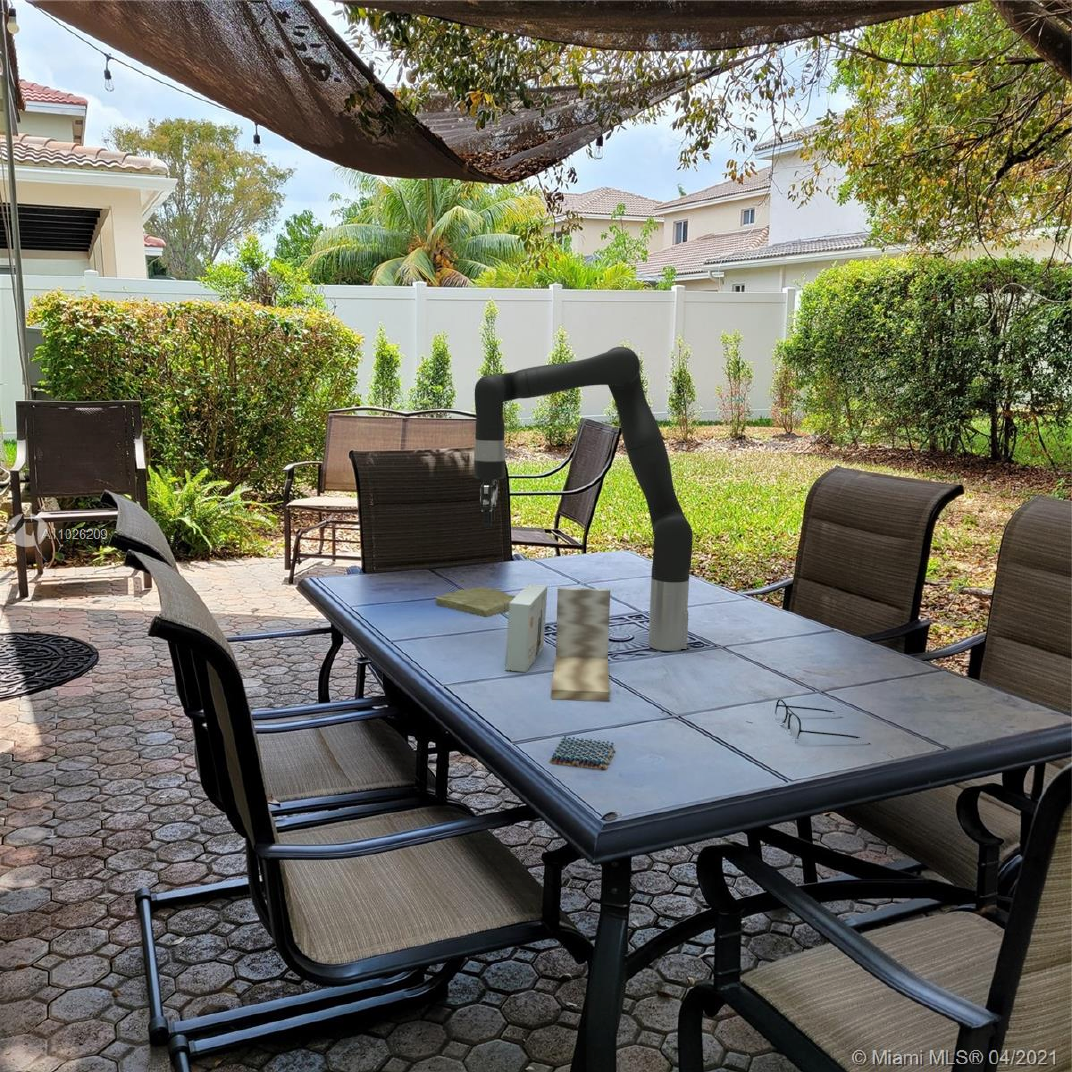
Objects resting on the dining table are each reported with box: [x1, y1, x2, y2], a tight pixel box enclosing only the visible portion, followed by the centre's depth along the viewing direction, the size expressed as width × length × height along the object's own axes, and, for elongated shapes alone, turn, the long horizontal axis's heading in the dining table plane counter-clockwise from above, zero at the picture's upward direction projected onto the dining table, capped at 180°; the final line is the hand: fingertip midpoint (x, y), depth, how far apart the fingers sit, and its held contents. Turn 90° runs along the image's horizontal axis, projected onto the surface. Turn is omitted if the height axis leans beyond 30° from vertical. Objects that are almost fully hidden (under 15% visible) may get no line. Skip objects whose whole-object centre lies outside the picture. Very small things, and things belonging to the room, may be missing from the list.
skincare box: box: [504, 583, 548, 673], centre depth 231 cm, size 21×6×16 cm, turn 168°
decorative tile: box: [435, 586, 517, 618], centre depth 283 cm, size 19×20×4 cm
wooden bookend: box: [550, 587, 611, 702], centre depth 216 cm, size 12×25×18 cm, turn 177°
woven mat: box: [548, 735, 616, 771], centre depth 176 cm, size 10×11×2 cm
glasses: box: [774, 698, 860, 740], centre depth 191 cm, size 14×15×5 cm
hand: (488, 524), depth 243 cm, fingers open, 8 cm apart
